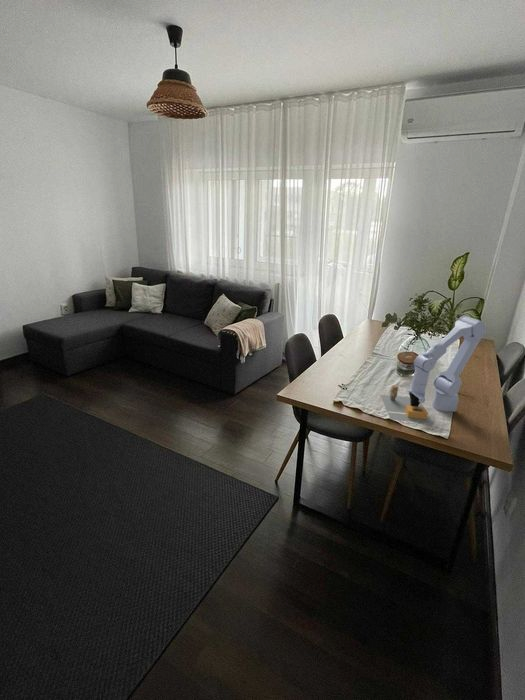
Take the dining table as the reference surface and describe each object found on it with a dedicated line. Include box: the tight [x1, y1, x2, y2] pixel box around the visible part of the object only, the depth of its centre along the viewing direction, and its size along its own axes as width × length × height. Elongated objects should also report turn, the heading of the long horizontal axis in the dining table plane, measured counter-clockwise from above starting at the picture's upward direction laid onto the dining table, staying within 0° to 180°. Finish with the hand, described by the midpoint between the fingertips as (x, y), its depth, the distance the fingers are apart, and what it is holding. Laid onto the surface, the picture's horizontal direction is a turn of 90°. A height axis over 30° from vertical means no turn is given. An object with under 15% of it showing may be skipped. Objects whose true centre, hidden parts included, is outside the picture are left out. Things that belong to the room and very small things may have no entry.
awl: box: [389, 384, 399, 401], centre depth 161 cm, size 3×3×7 cm
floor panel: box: [379, 394, 434, 425], centre depth 155 cm, size 18×22×1 cm
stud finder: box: [405, 405, 429, 419], centre depth 149 cm, size 8×5×3 cm, turn 83°
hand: (413, 408), depth 153 cm, fingers closed
